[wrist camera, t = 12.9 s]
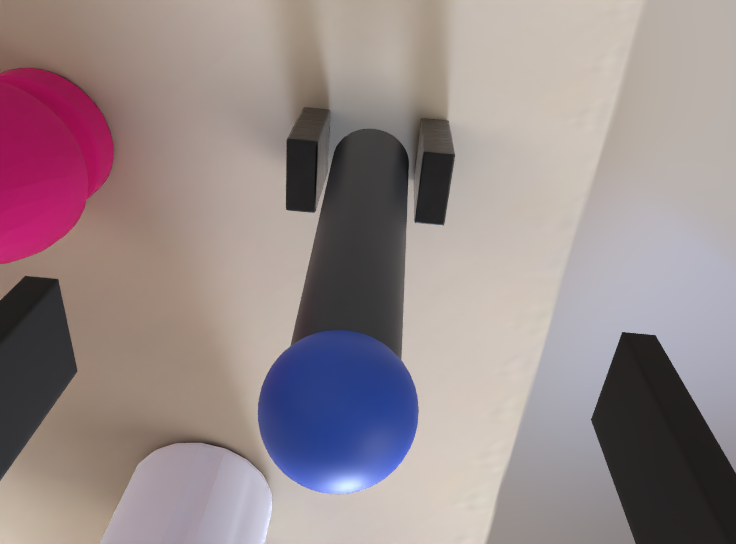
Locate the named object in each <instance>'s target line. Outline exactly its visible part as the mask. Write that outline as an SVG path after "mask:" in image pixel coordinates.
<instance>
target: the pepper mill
mask: <svg viewBox="0 0 736 544" xmlns="http://www.w3.org/2000/svg"><path fill="white" fill-rule="evenodd" d="M112 163H113V141H112V137H111V133H110V130H109V128H108V125H107V123H106V120H105V118H104V116H103V115H102V113H101V112H100V110H99V109H98V107H97V106H96V105H95V104H94V102H93V101H92V100H91V98H90V97H88V96H87V95H86V94H85V93H84V92H83V91H82V90H81V89H79V88H78V87H77V86H76V85H74V84H73V83H71V82H70V81H68V80H66V79H64V78H63V77H61V76H59V75H56V74H54V73H51V72H48V71H44V70H41V69H34V68H19V69H13V70H9V71H6V72H3V73H0V264H4V263H10V262H13V261H16V260H19V259H23V258H25V257H28V256H31V255H33V254H36V253H39V252H41V251H43V250H45V249H46V248H48V247H49V246H51V245H52V244H54V243H55V242H56V241H58V240H59V239H61V238H62V237H63V236H65V235H66V234H67V233H68V232H69V231H70V230H71V229H72V228H73V227H74V226H75V224H76V223H77V221H78V220H79V218H80V216H81V214H82V212H83V210H84V208H85V204H86V200H87V199H88V198H89V197H90V196H91V195H92V194H93V193H94V192H96V191H97V190H98V189H99V188H100V187H101V186H102V184H103V183H104V182H105V181H106V179H107V177H108V176H109V173H110V171H111V168H112Z"/></svg>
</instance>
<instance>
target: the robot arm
mask: <svg viewBox="0 0 736 544" xmlns="http://www.w3.org/2000/svg"><path fill="white" fill-rule="evenodd" d="M76 372H77V367H76V362H75V357H74V352H73V348H72V343H71V338H70V333H69V329H68V324H67V319H66V314H65V309H64V305H63V300H62V295H61V290H60V286H59V281H58V279H51V278H40V277H29V276H25V277H24V278H23V279H22V280H21V281H20V282H19V283H18V284H17V285H16V286H15V287H14V288H13V289H12V290H11V291H10V292H9V293H8V294H7V295H6V296H4V297H3V298H2V299H1V300H0V480H1V479H2V478H3V476H4V475H5V473H6V472H7V470H8V469H9V468H10V466H11V465H12V463H13V462H14V460H15V459H16V458H17V456H18V455H19V453H20V452H21V451H22V449H23V448H24V446H25V445H26V443H27V442H28V441H29V439H30V438H31V436H32V435H33V434H34V432H35V431H36V429H37V428H38V426H39V425H40V424H41V422H42V421H43V419H44V418H45V416H46V415H47V414H48V412H49V411H50V409H51V408H52V407H53V405H54V404H55V402H56V401H57V399H58V398H59V397H60V395H61V394H62V392H63V391H64V390H65V388H66V387H67V385H68V384H69V382H70V381H71V380H72V378H73V377H74V375H75V374H76ZM591 421H592V424H593V426H594V429H595V432H596V435H597V437H598V440H599V443H600V446H601V448H602V451H603V454H604V457H605V460H606V462H607V465H608V468H609V471H610V473H611V476H612V479H613V482H614V485H615V487H616V490H617V493H618V495H619V498H620V501H621V504H622V507H623V509H624V512H625V515H626V518H627V520H628V523H629V526H630V529H631V531H632V534H633V537H634V540H635V543H636V544H736V473H735V472H734V470H733V468H732V466H731V464H730V463H729V461H728V459H727V457H726V456H725V454H724V452H723V451H722V449H721V447H720V445H719V444H718V442H717V440H716V439H715V437H714V435H713V433H712V432H711V430H710V428H709V427H708V425H707V423H706V422H705V420H704V418H703V416H702V415H701V413H700V411H699V409H698V408H697V406H696V404H695V402H694V401H693V399H692V397H691V396H690V394H689V392H688V390H687V389H686V387H685V386H684V384H683V382H682V380H681V379H680V377H679V375H678V373H677V372H676V370H675V368H674V367H673V365H672V363H671V361H670V360H669V358H668V356H667V354H666V353H665V351H664V349H663V348H662V346H661V344H660V342H659V341H658V339H657V337H656V336H655V335H646V334H636V333H625V332H622V335H621V337H620V340H619V343H618V346H617V349H616V352H615V354H614V357H613V360H612V363H611V365H610V368H609V371H608V374H607V377H606V380H605V382H604V385H603V388H602V391H601V393H600V397H599V399H598V402H597V405H596V408H595V410H594V413H593V416H592V419H591Z"/></svg>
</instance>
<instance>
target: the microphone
mask: <svg viewBox="0 0 736 544" xmlns="http://www.w3.org/2000/svg"><path fill="white" fill-rule="evenodd" d="M408 170H409V160H408V155H407V152H406V150H405V148H404V146H403V145H402V144H401V143H400V141H399V140H397V139H396V138H395V137H394V136H392V135H391V134H389V133H387V132H384V131H381V130H377V129H362V130H358V131H355V132H352V133H350V134H349V135H347V136H346V137H344V138H343V139H342V140H341V141H340V142H339V144H338V145H337V147H336V149H335V151H334V155H333V159H332V164H331V168H330V173H329V177H328V182H327V186H326V190H325V195H324V199H323V204H322V208H321V213H320V217H319V222H318V226H317V231H316V235H315V239H314V244H313V248H312V253H311V257H310V262H309V266H308V271H307V275H306V279H305V284H304V288H303V293H302V297H301V302H300V306H299V311H298V315H297V319H296V324H295V328H294V333H293V337H292V342H291V346H290V347H289V348H288V349H287V350H285V351H284V352H283V353H282V354H281V355H280V356H279V358H278V359H277V360H276V361H275V363H274V364H273V365H272V367H271V368H270V370H269V372H268V374H267V376H266V378H265V380H264V383H263V386H262V388H261V392H260V397H259V403H258V422H259V428H260V433H261V437H262V440H263V443H264V445H265V447H266V449H267V451H268V453H269V455H270V457H271V458H272V460H273V461H274V462H275V464H276V465H277V466H278V467H279V468H280V469H281V470H282V472H283V473H284V474H286V475H287V476H288V477H289V478H291V479H292V480H293V481H295V482H297V483H298V484H300V485H302V486H304V487H306V488H309V489H311V490H314V491H318V492H322V493H328V494H347V493H353V492H357V491H360V490H363V489H366V488H369V487H371V486H373V485H375V484H377V483H378V482H380V481H382V480H383V479H385V478H386V477H387V476H388V475H389V474H390V473H392V472H393V471H394V470H395V469H396V468H397V466H398V465H399V464H400V463H401V462H402V460H403V459H404V457H405V456H406V454H407V452H408V451H409V449H410V447H411V444H412V442H413V439H414V436H415V433H416V429H417V423H418V399H417V393H416V389H415V386H414V383H413V380H412V378H411V375H410V373H409V372H408V370H407V368H406V367H405V365H404V363H403V362H402V361H401V354H402V328H403V301H404V275H405V249H406V222H407V196H408Z"/></svg>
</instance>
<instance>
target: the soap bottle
mask: <svg viewBox="0 0 736 544" xmlns="http://www.w3.org/2000/svg"><path fill="white" fill-rule="evenodd" d="M271 513H272V493H271V490H270V488H269V486H268V484H267V482H266V480H265V478H264V476H263V474H262V473H261V472H260V471H259V470H258V469H256V468H255V467H254V466H253V465H252V464H251V463H250V462H249V461H248V460H247V459H245V458H243V457H241V456H239V455H237V454H235V453H233V452H231V451H229V450H227V449H225V448H221V447H217V446H212V445H208V444H204V443H175V444H172V445H169V446H166V447H163V448H160V449H156V450H155V451H153V452H152V453H151V454H150V455H148V456H147V457H146V458H145V459H144V460H142V461H141V462H140V463H139V464H138V465H137V467H136V469H135V471H134V473H133V475H132V477H131V479H130V482H129V484H128V486H127V488H126V490H125V492H124V494H123V496H122V498H121V500H120V502H119V504H118V506H117V508H116V510H115V512H114V514H113V516H112V518H111V520H110V523H109V525H108V527H107V529H106V531H105V533H104V535H103V537H102V539H101V541H100V543H99V544H264V543H265V539H266V535H267V530H268V526H269V521H270V517H271Z"/></svg>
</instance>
